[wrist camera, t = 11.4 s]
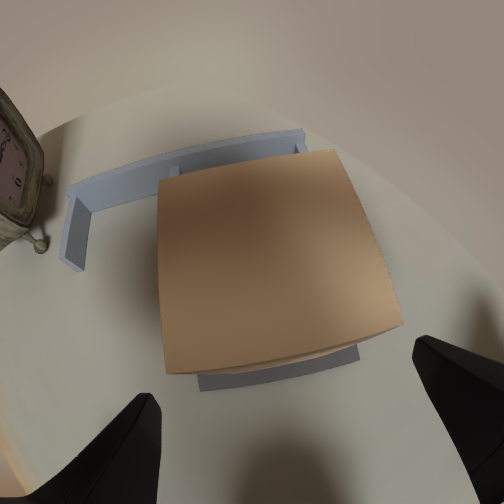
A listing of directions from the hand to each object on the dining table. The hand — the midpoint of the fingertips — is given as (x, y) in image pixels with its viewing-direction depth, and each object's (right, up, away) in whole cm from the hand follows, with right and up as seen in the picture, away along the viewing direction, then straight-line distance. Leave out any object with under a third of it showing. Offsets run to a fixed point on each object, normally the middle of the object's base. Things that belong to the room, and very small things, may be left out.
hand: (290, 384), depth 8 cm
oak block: (0, -1, +10) cm, 10 cm away
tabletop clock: (-28, +7, +17) cm, 34 cm away
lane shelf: (-7, +8, +15) cm, 19 cm away
